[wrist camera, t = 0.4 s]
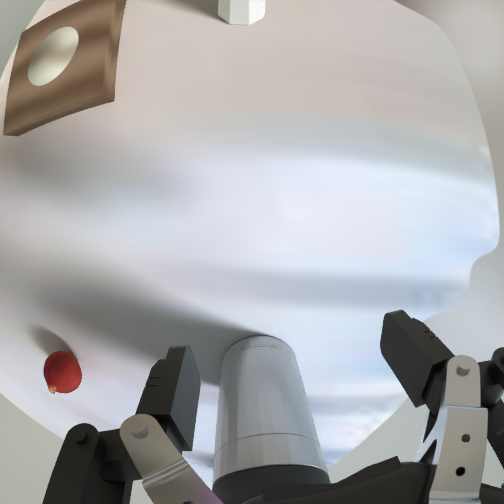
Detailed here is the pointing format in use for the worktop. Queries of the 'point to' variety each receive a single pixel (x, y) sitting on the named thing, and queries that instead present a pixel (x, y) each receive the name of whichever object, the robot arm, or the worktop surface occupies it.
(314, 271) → the worktop surface
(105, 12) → the walnut plinth
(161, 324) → the worktop surface
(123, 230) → the worktop surface
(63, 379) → the onion
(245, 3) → the pepper shaker
